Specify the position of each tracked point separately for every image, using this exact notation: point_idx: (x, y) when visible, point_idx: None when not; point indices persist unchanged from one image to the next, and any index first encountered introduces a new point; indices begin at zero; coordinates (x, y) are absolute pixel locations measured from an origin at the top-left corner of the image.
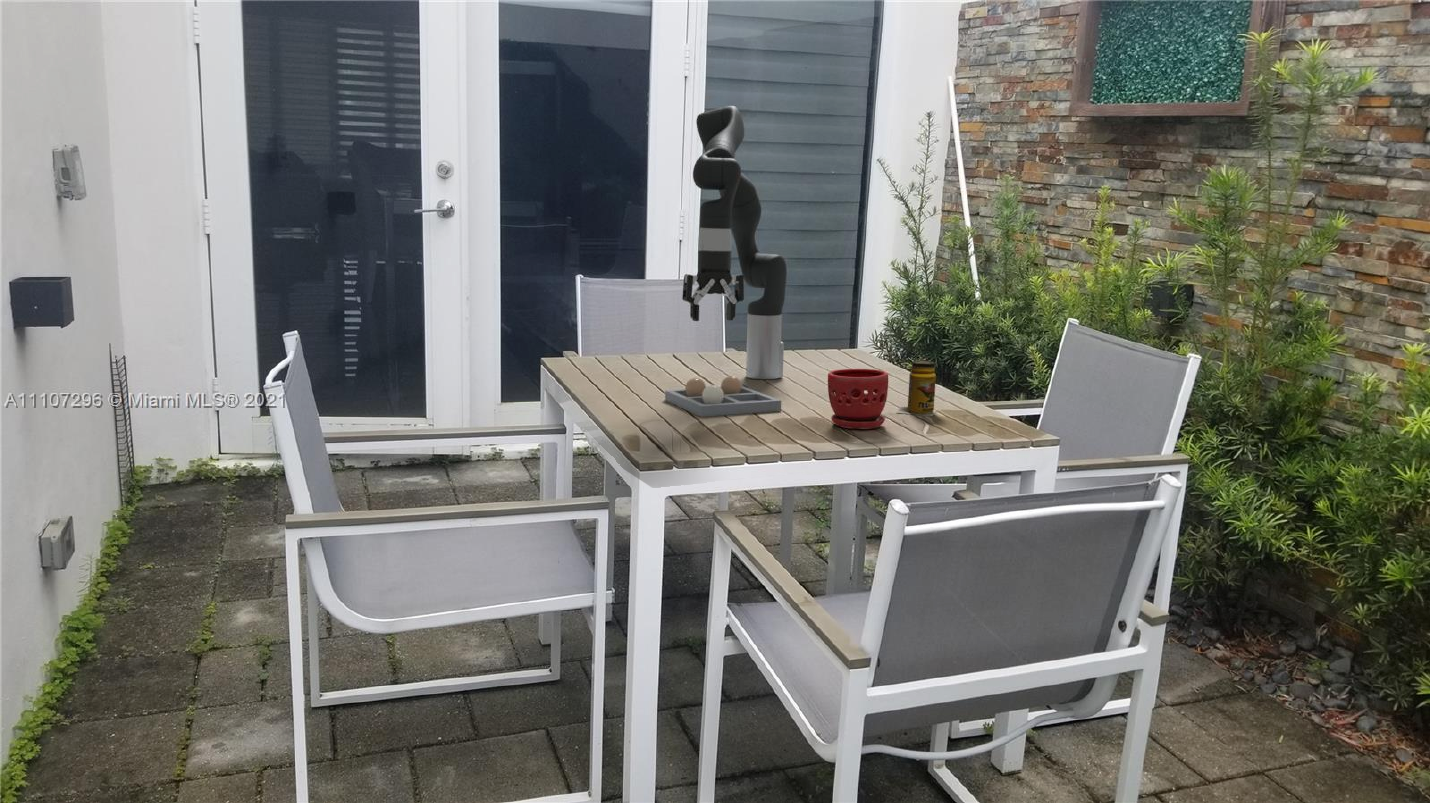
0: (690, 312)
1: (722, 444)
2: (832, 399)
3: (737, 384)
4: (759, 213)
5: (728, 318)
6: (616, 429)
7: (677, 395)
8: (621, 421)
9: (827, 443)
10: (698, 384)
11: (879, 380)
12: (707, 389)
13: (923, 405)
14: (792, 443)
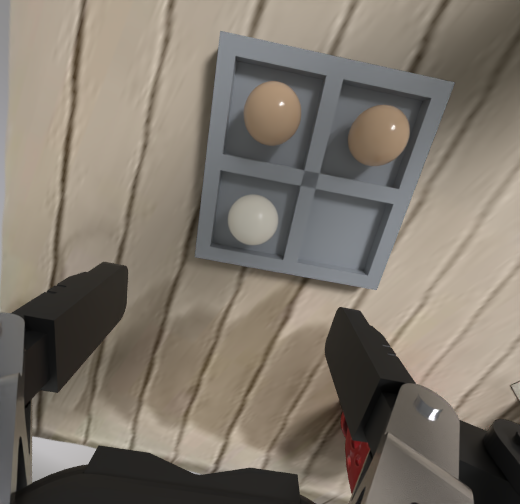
0: (52, 290)
1: (131, 402)
2: (348, 445)
3: (377, 164)
4: None
5: (334, 333)
6: (10, 259)
7: (212, 121)
8: (38, 206)
9: (260, 452)
10: (265, 138)
11: None
12: (232, 228)
13: None
14: (220, 435)
